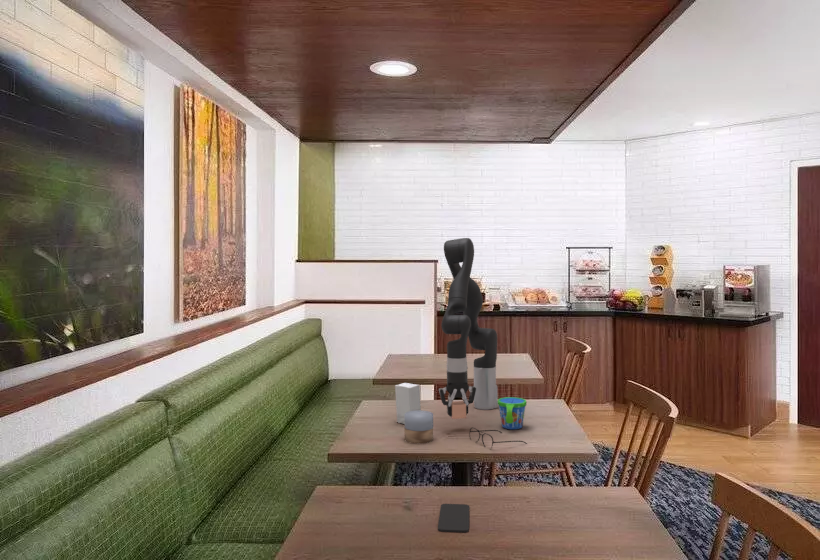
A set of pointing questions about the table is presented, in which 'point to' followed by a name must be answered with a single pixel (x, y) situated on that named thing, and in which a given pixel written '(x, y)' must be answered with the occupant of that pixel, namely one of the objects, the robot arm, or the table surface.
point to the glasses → (490, 436)
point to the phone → (454, 518)
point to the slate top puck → (418, 420)
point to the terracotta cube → (458, 410)
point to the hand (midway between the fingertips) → (457, 415)
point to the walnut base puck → (418, 436)
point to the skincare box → (406, 400)
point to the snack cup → (512, 412)
